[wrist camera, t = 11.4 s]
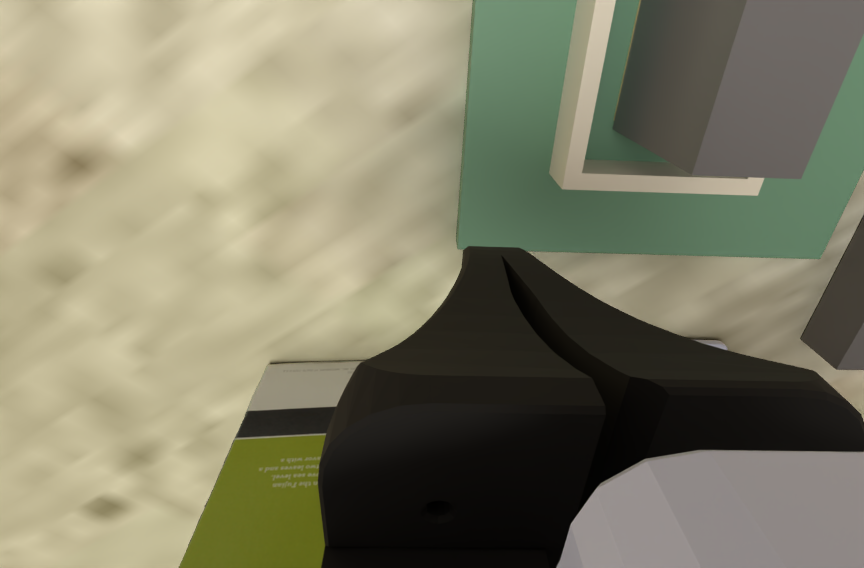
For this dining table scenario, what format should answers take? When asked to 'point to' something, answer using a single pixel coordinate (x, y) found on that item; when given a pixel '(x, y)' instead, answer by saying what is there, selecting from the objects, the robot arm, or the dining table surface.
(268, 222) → the dining table surface
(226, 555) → the tea box
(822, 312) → the grey flat block
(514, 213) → the board
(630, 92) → the plug
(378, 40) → the dining table surface
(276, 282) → the dining table surface
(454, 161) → the dining table surface
